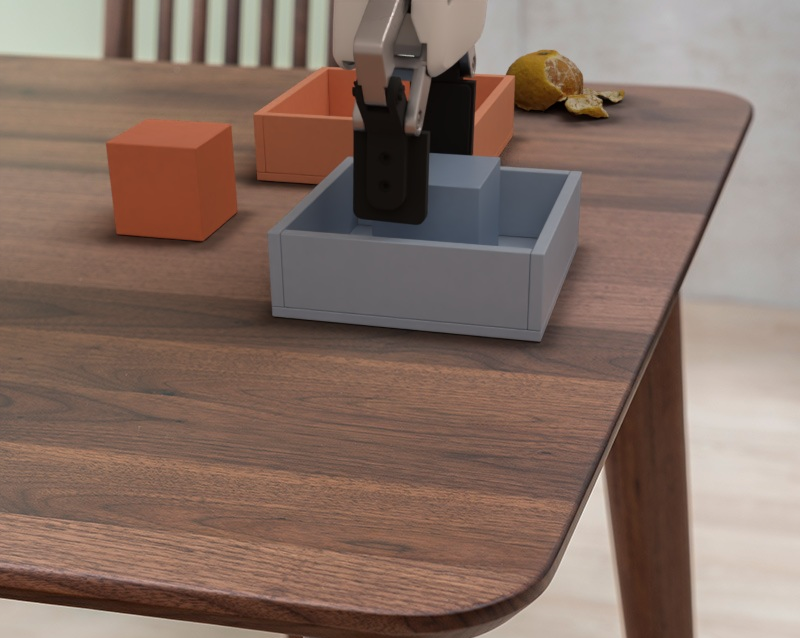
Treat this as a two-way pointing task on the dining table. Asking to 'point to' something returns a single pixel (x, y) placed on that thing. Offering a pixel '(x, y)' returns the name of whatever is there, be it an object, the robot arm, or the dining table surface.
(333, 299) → the slate bin
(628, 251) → the dining table surface
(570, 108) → the fruit
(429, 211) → the slate block
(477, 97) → the terracotta bin
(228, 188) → the terracotta block
